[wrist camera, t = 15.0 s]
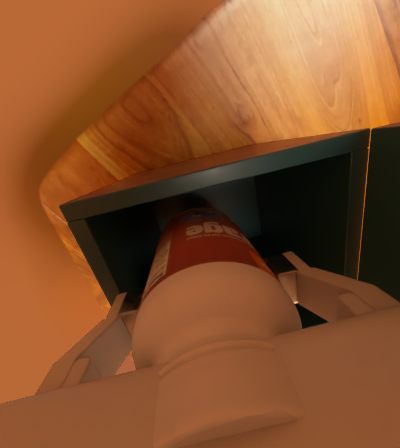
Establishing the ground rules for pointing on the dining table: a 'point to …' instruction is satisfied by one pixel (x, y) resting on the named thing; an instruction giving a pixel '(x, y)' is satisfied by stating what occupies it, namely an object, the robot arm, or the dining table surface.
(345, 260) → the bin
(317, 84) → the dining table surface
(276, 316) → the pill bottle
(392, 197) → the bin lid
